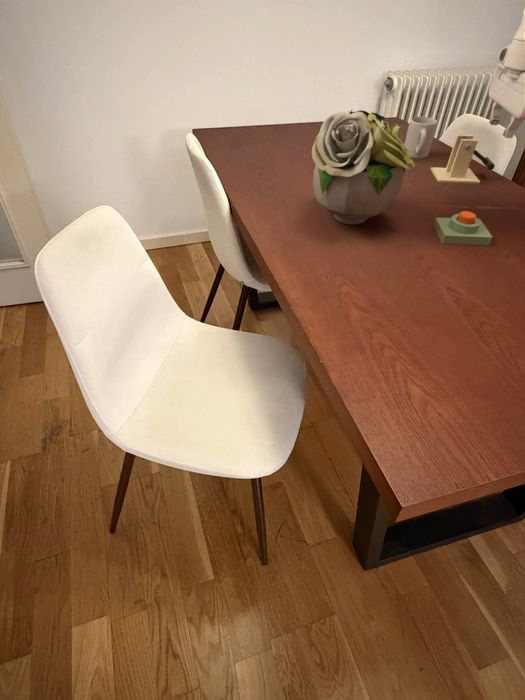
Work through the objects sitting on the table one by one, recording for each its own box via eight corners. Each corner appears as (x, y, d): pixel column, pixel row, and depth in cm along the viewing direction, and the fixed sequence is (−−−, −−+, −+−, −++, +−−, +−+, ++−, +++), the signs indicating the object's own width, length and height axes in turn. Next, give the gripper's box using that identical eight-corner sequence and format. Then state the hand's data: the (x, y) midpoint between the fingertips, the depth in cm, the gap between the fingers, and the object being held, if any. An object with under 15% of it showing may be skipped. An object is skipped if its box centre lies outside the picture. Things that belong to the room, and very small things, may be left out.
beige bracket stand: (468, 173, 126) (483, 132, 118) (478, 186, 119) (495, 144, 110) (429, 172, 126) (441, 131, 118) (437, 185, 119) (451, 142, 111)
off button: (470, 218, 97) (473, 211, 95) (475, 225, 94) (478, 218, 93) (455, 217, 97) (458, 210, 96) (459, 224, 94) (462, 217, 93)
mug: (400, 150, 139) (409, 115, 132) (426, 152, 138) (436, 117, 131) (403, 163, 131) (412, 126, 123) (430, 165, 130) (441, 128, 122)
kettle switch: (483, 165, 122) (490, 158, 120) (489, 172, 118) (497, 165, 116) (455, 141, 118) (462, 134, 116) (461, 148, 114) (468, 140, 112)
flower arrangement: (289, 230, 99) (296, 120, 81) (317, 190, 115) (328, 92, 98) (391, 250, 92) (422, 136, 75) (405, 206, 109) (433, 103, 92)
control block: (476, 227, 101) (483, 212, 98) (488, 245, 95) (496, 230, 92) (432, 225, 101) (437, 210, 99) (441, 243, 95) (447, 228, 92)
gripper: (568, 68, 76) (531, 146, 86) (525, 50, 90) (498, 118, 100) (534, 67, 76) (501, 144, 86) (497, 49, 91) (473, 117, 100)
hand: (499, 130), depth 93 cm, fingers open, 8 cm apart
